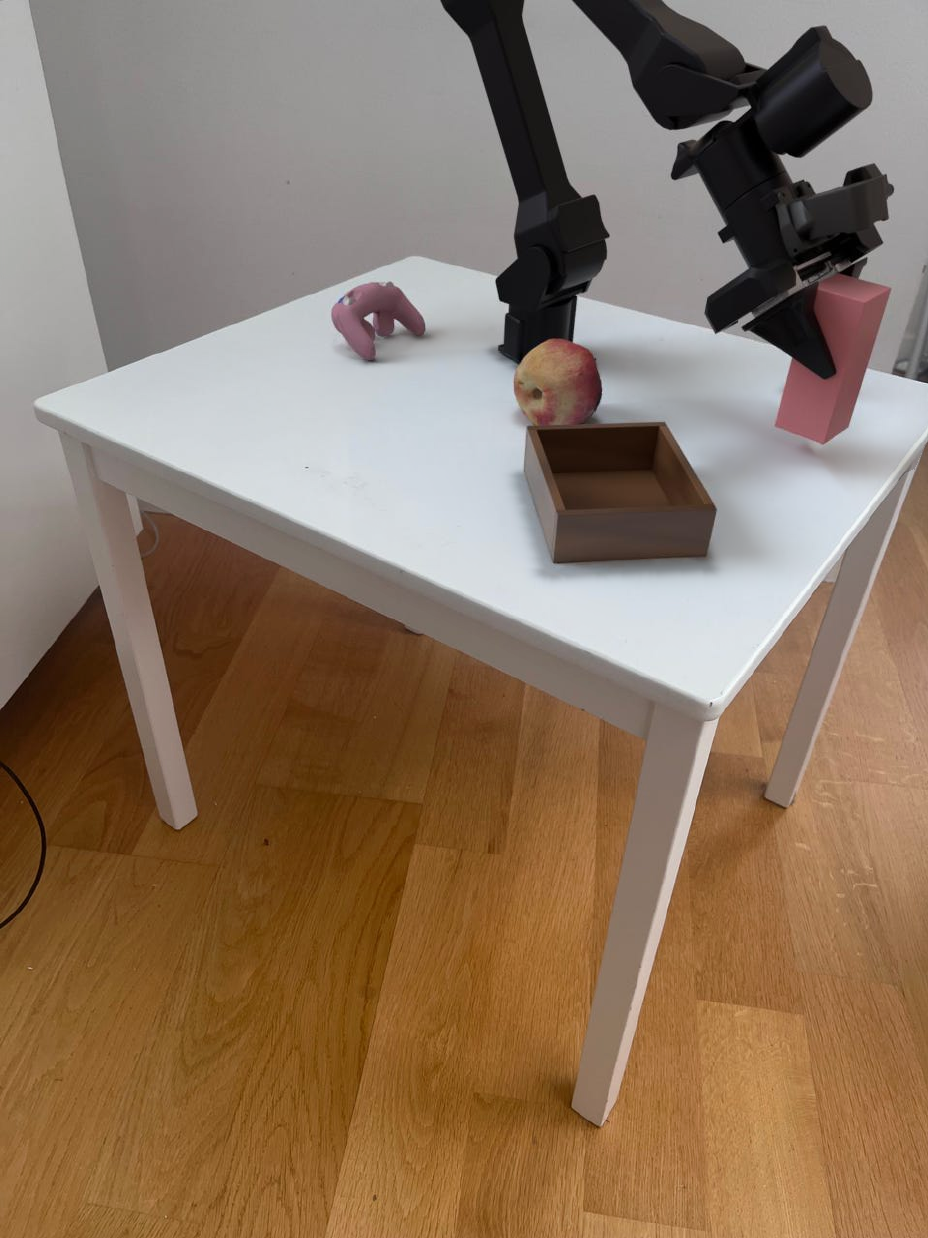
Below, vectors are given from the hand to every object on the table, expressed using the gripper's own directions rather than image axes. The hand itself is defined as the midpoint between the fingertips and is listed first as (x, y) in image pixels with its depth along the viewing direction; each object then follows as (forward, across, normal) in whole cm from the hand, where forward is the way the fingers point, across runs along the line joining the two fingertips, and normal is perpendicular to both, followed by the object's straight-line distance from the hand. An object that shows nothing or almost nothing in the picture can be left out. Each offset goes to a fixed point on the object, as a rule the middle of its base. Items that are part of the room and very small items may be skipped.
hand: (844, 368), depth 76 cm
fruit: (-8, -12, +20) cm, 25 cm away
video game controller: (-26, -10, +38) cm, 47 cm away
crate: (+1, -20, +11) cm, 23 cm away
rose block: (+3, 0, +5) cm, 6 cm away
